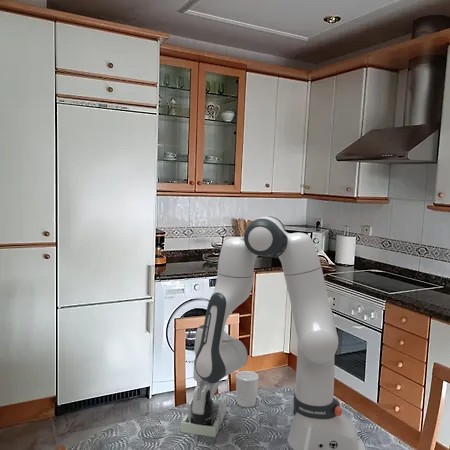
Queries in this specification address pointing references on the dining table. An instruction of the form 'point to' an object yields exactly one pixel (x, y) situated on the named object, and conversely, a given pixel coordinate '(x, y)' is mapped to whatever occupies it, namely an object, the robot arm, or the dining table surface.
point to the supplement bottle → (208, 413)
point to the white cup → (246, 388)
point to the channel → (220, 409)
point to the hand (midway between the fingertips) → (205, 413)
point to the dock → (199, 428)
